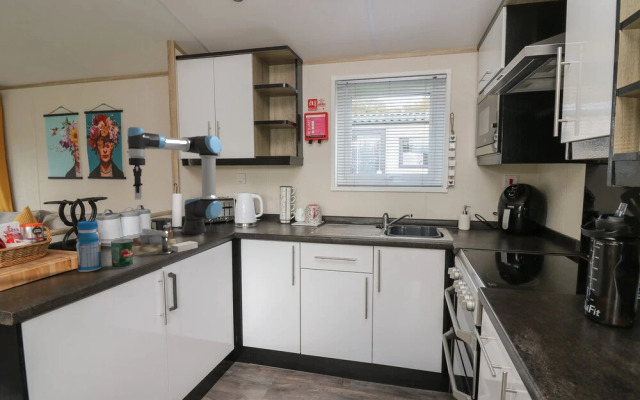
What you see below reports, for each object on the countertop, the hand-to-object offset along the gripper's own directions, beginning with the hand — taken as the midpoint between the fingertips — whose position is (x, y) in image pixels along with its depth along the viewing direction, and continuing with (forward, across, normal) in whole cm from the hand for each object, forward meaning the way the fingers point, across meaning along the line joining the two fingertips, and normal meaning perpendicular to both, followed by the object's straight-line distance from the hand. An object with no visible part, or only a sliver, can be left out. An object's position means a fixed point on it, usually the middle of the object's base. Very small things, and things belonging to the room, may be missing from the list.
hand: (138, 198), depth 169 cm
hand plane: (+27, +5, +6) cm, 28 cm away
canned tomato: (+27, +32, -6) cm, 43 cm away
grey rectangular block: (+23, +5, +6) cm, 24 cm away
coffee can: (+27, -10, +11) cm, 31 cm away
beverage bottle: (+27, +32, -18) cm, 46 cm away
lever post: (+27, +16, +11) cm, 33 cm away
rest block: (+27, +11, +21) cm, 36 cm away
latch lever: (+18, +10, +7) cm, 22 cm away
